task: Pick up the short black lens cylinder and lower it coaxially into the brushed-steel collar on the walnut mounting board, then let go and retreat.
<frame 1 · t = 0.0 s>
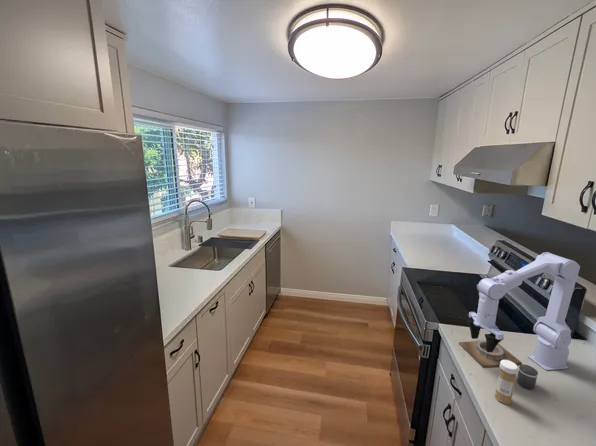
hand: (481, 344, 104), 10 cm above the countertop, tool pointing down, fingers open, 7 cm apart
mount board: (488, 353, 114), on the countertop
lens: (525, 384, 99), on the countertop
sprinkles bottle: (502, 399, 93), on the countertop
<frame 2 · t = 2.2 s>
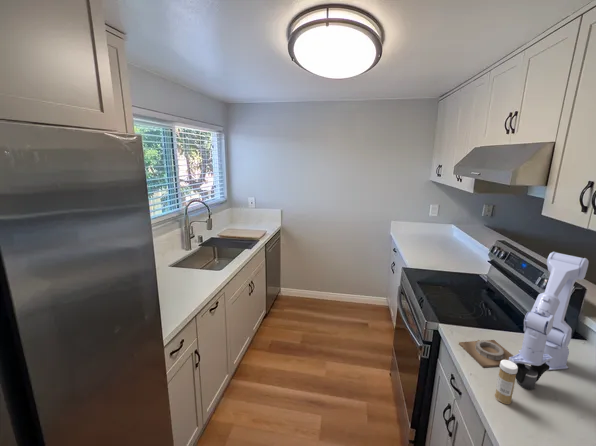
hand: (526, 380, 98), 2 cm above the countertop, tool pointing down, fingers closed on lens, 5 cm apart
lens: (525, 384, 99), on the countertop, touching gripper
everything else where it was.
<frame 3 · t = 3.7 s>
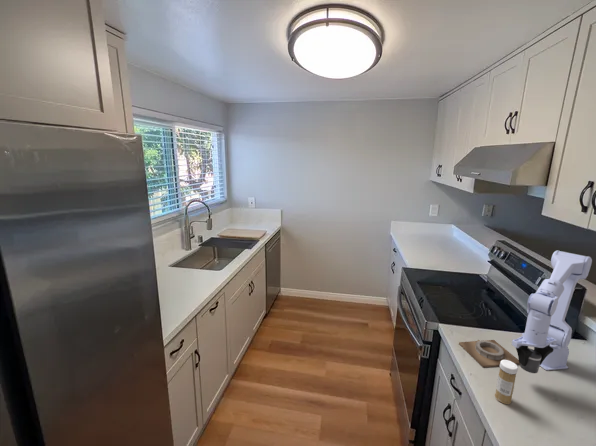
hand: (529, 363, 97), 8 cm above the countertop, tool pointing down, fingers closed on lens, 5 cm apart
lens: (528, 367, 97), point 7 cm above the countertop, touching gripper
everything else where it was.
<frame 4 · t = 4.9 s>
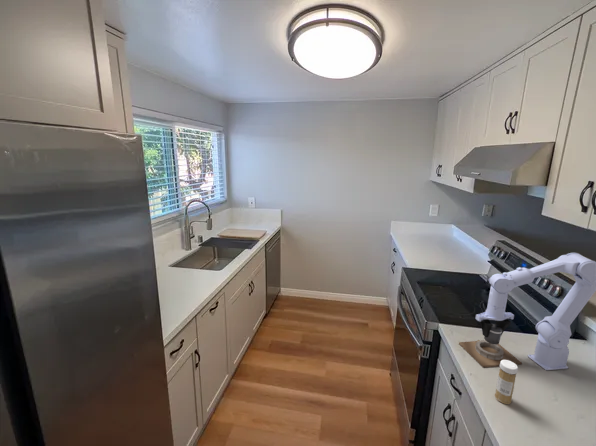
hand: (491, 335, 112), 8 cm above the countertop, tool pointing down, fingers closed on lens, 5 cm apart
lens: (491, 340, 112), point 6 cm above the countertop, touching gripper
everything else where it was.
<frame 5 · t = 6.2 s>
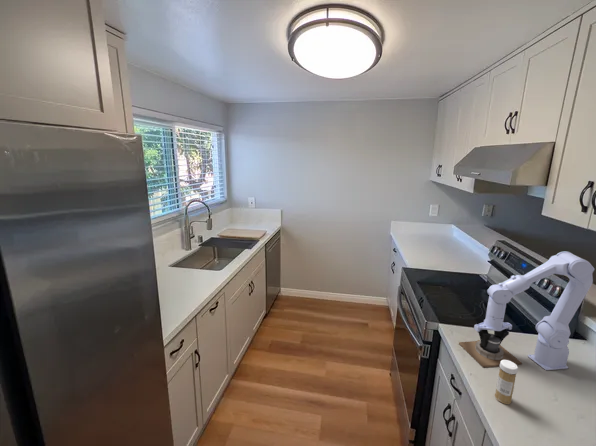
hand: (489, 345, 113), 4 cm above the countertop, tool pointing down, fingers closed on lens, 5 cm apart
lens: (489, 349, 113), point 2 cm above the countertop, touching gripper
everything else where it was.
when the fingers open (4 cm above the countertop, at t = 7.3 s): lens drops 1 cm, resting on mount board.
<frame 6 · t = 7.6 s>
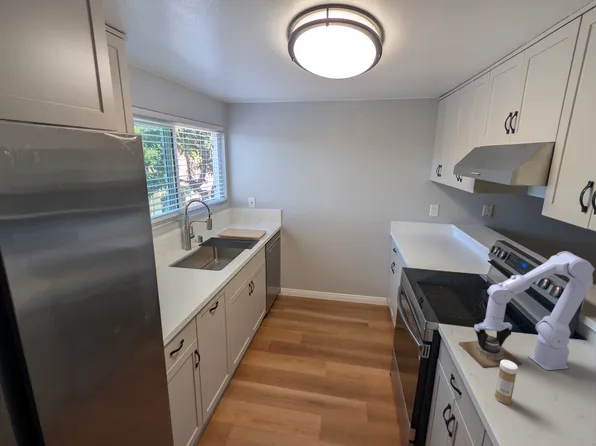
hand: (489, 345, 113), 4 cm above the countertop, tool pointing down, fingers open, 7 cm apart
lens: (489, 352, 114), point 1 cm above the countertop, touching mount board
everything else where it was.
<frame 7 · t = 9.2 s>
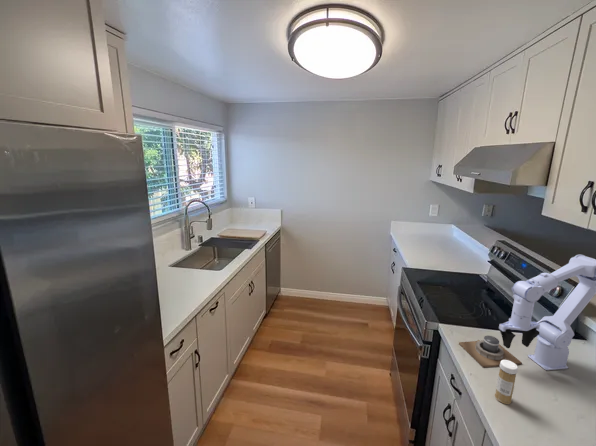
hand: (515, 346, 106), 8 cm above the countertop, tool pointing down, fingers open, 7 cm apart
nothing on the countertop moved.
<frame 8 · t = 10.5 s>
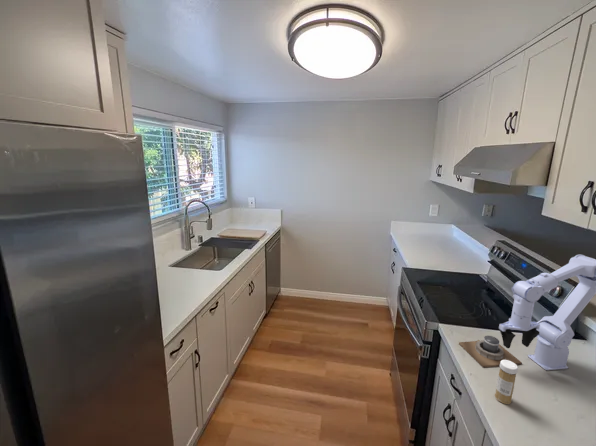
hand: (515, 346, 106), 8 cm above the countertop, tool pointing down, fingers open, 7 cm apart
nothing on the countertop moved.
at the end: lens 0.4 cm from the mount board (horizontally); lens point 0.8 cm above the countertop; lens tilted 0° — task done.
